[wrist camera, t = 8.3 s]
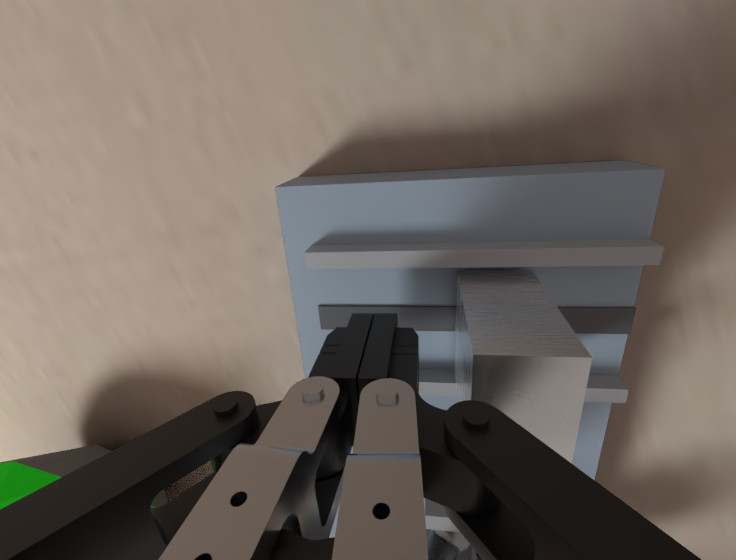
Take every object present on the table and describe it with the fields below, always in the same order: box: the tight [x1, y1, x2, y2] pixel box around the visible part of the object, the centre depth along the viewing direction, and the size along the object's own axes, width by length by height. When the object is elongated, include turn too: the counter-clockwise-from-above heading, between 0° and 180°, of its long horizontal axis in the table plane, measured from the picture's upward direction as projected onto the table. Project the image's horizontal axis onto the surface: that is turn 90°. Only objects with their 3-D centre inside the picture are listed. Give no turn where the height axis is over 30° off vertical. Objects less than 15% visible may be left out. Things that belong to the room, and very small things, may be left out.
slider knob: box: [454, 270, 592, 463], centre depth 11 cm, size 2×4×5 cm, turn 4°
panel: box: [275, 160, 666, 560], centre depth 16 cm, size 12×26×6 cm, turn 4°
